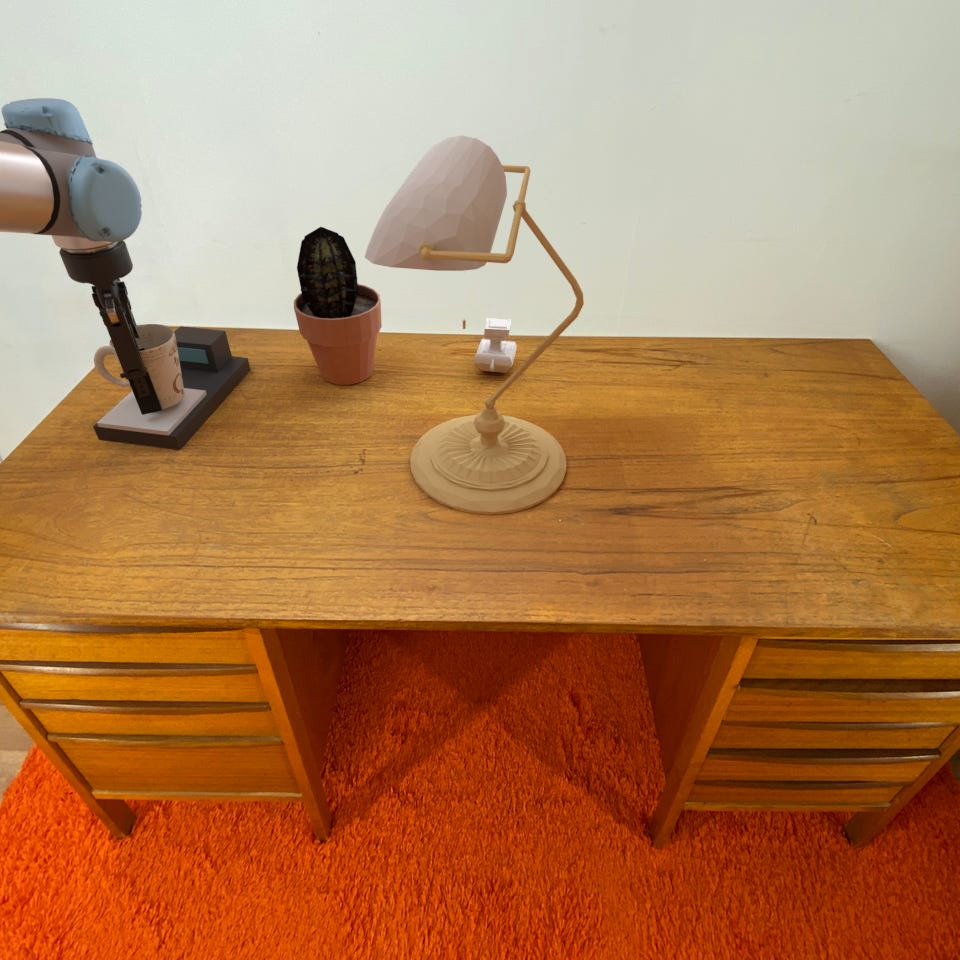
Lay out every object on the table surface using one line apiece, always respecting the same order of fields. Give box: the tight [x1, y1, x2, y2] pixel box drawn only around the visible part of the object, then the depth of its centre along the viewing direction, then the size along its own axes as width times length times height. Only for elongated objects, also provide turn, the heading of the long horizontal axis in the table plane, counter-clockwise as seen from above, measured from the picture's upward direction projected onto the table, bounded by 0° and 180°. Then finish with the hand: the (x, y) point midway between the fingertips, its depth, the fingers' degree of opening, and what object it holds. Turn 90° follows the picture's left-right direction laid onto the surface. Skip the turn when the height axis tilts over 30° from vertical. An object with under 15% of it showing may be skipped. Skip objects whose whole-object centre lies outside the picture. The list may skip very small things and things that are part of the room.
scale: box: [92, 325, 252, 451], centre depth 100 cm, size 23×13×7 cm, turn 170°
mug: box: [93, 323, 185, 408], centre depth 92 cm, size 8×13×10 cm, turn 91°
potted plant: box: [293, 226, 383, 386], centre depth 102 cm, size 14×14×25 cm
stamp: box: [473, 317, 518, 374], centre depth 109 cm, size 9×7×8 cm
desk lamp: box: [364, 135, 585, 516], centre depth 79 cm, size 31×23×40 cm
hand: (150, 398), depth 94 cm, fingers closed on mug, 6 cm apart
